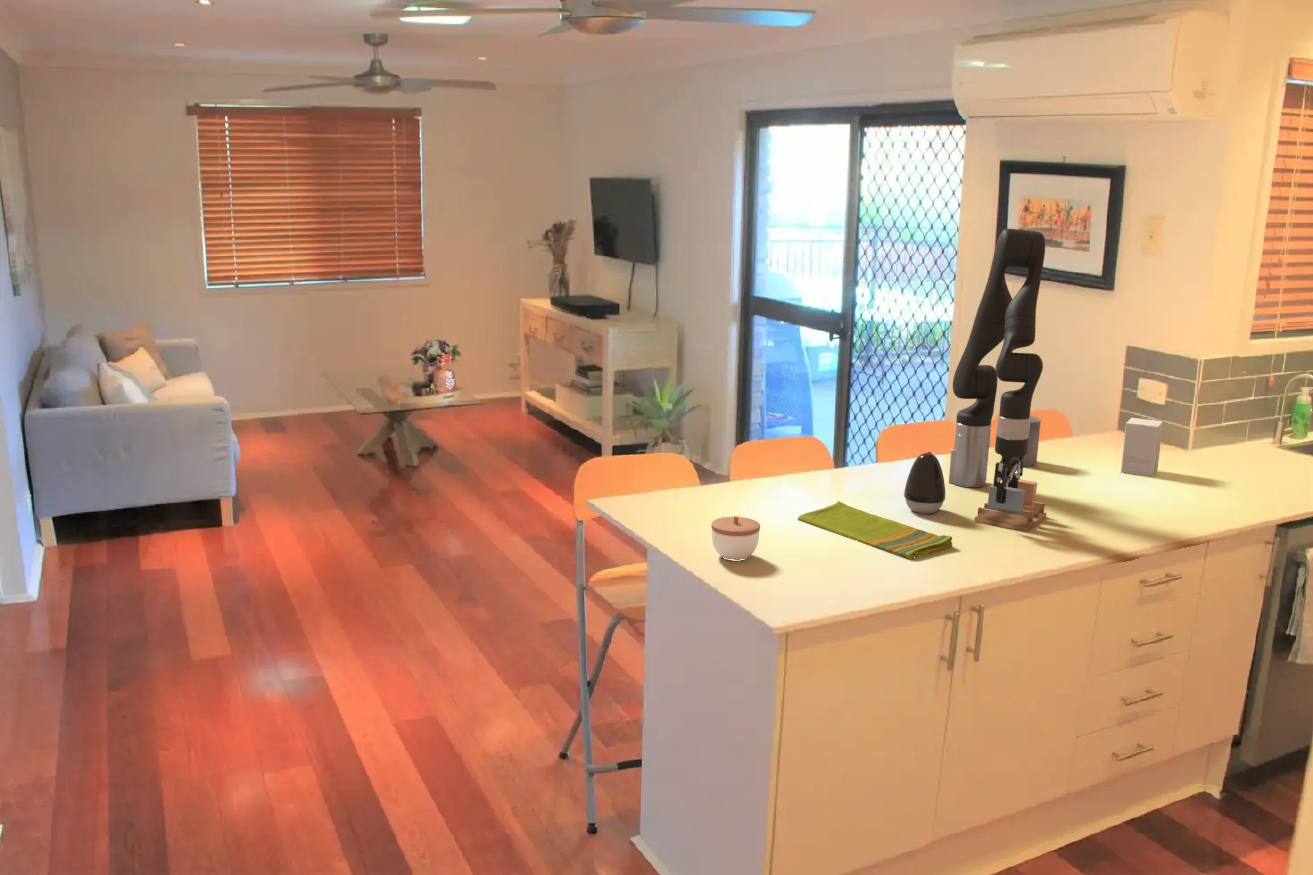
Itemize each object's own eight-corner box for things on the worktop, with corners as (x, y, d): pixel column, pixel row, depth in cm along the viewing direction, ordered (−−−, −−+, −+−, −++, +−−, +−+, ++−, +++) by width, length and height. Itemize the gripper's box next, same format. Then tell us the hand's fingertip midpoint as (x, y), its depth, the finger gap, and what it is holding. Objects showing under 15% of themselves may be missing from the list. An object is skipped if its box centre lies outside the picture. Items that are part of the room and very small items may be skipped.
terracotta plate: (999, 509, 277) (1002, 478, 275) (1002, 506, 279) (1005, 476, 277) (1031, 515, 273) (1034, 484, 271) (1034, 512, 275) (1037, 482, 273)
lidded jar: (707, 549, 248) (708, 509, 245) (754, 548, 249) (755, 509, 246) (713, 565, 237) (715, 524, 235) (762, 564, 238) (764, 523, 236)
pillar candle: (1000, 457, 332) (1004, 409, 328) (1033, 459, 331) (1038, 410, 327) (1005, 466, 323) (1010, 416, 319) (1039, 467, 321) (1044, 418, 318)
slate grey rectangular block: (986, 517, 270) (989, 486, 268) (990, 515, 272) (992, 484, 270) (1018, 523, 266) (1021, 492, 264) (1022, 521, 268) (1025, 490, 266)
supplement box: (1158, 470, 320) (1164, 420, 316) (1153, 477, 313) (1159, 426, 309) (1125, 465, 325) (1131, 416, 321) (1119, 472, 317) (1125, 422, 314)
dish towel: (911, 563, 242) (912, 549, 242) (796, 522, 270) (796, 509, 269) (954, 549, 252) (955, 536, 251) (838, 511, 279) (839, 499, 278)
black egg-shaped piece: (945, 507, 281) (950, 450, 278) (942, 518, 272) (947, 460, 268) (905, 503, 285) (909, 446, 281) (900, 514, 275) (904, 456, 272)
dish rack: (974, 521, 270) (975, 507, 269) (995, 507, 282) (996, 494, 281) (1027, 531, 263) (1028, 518, 262) (1046, 516, 275) (1047, 503, 274)
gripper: (1006, 427, 271) (1000, 489, 275) (987, 437, 260) (981, 502, 264) (1037, 431, 267) (1030, 495, 271) (1018, 442, 256) (1012, 508, 260)
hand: (1006, 498), depth 268 cm, fingers open, 8 cm apart
